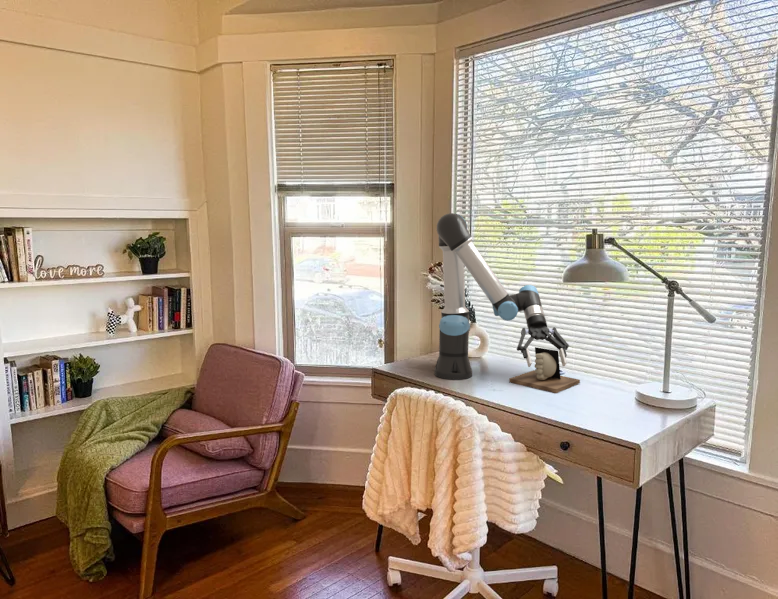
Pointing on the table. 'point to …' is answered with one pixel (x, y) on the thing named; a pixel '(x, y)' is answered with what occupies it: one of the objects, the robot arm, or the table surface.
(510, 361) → the table surface
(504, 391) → the table surface
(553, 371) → the decorative object
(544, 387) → the walnut board
